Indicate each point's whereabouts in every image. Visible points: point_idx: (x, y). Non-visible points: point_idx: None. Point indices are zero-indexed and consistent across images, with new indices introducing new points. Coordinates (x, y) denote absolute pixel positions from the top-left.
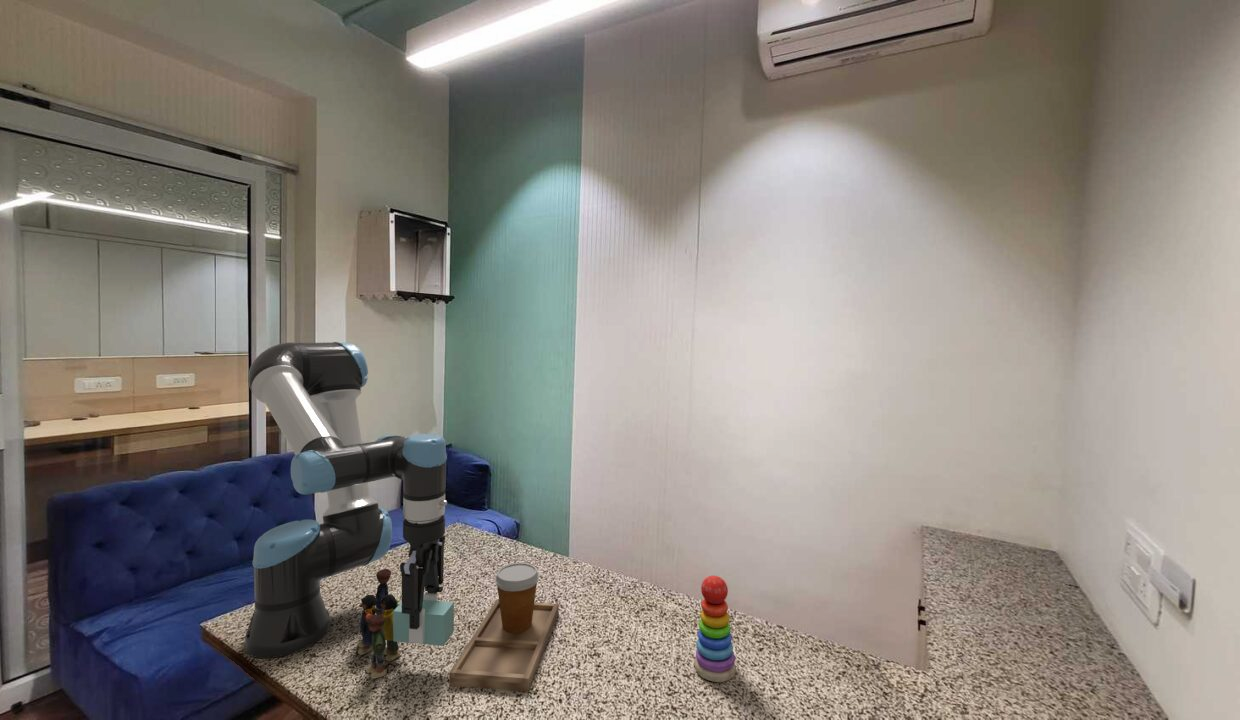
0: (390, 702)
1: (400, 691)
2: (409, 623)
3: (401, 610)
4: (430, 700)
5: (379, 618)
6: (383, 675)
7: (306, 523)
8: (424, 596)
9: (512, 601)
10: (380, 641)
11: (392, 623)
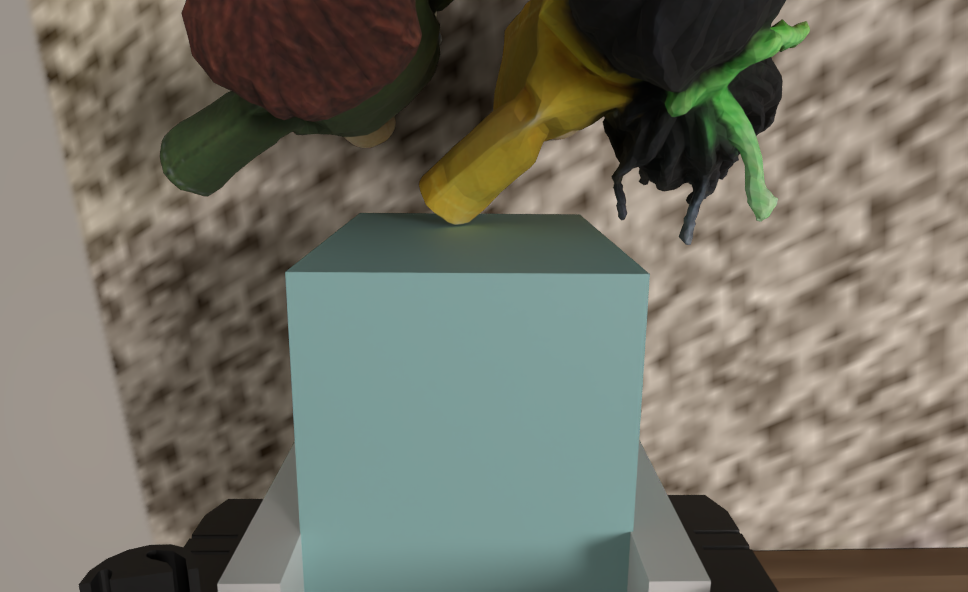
0: (154, 306)
1: (249, 315)
2: (186, 544)
3: (327, 380)
4: None
5: (285, 60)
6: (348, 140)
7: None
8: (642, 589)
9: None
10: (187, 174)
11: (458, 150)
